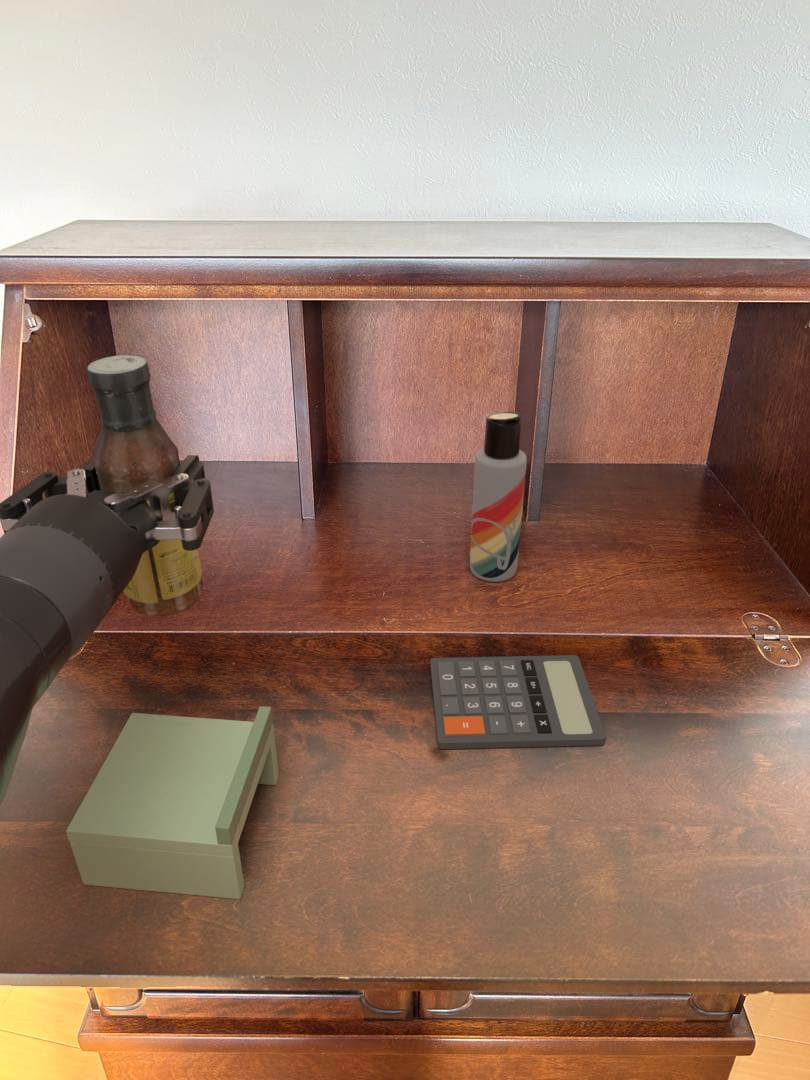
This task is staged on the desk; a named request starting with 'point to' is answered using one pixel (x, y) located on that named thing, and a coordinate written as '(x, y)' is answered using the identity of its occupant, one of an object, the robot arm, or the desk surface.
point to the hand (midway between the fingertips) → (152, 464)
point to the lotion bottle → (498, 499)
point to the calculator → (513, 702)
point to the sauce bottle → (141, 479)
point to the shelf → (174, 804)
